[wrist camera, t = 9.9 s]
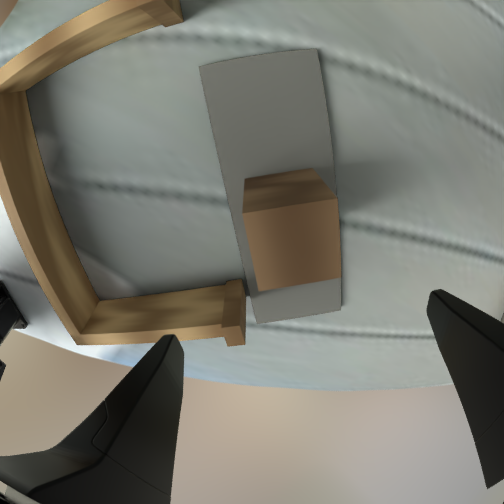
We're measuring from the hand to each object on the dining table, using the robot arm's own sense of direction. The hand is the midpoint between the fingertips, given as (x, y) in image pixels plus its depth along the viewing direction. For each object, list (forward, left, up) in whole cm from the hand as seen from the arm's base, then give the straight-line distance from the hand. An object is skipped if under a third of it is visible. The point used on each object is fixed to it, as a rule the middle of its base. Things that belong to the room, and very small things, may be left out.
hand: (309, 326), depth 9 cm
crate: (-11, +4, -12) cm, 17 cm away
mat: (0, 0, -12) cm, 12 cm away
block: (0, 0, -12) cm, 12 cm away
